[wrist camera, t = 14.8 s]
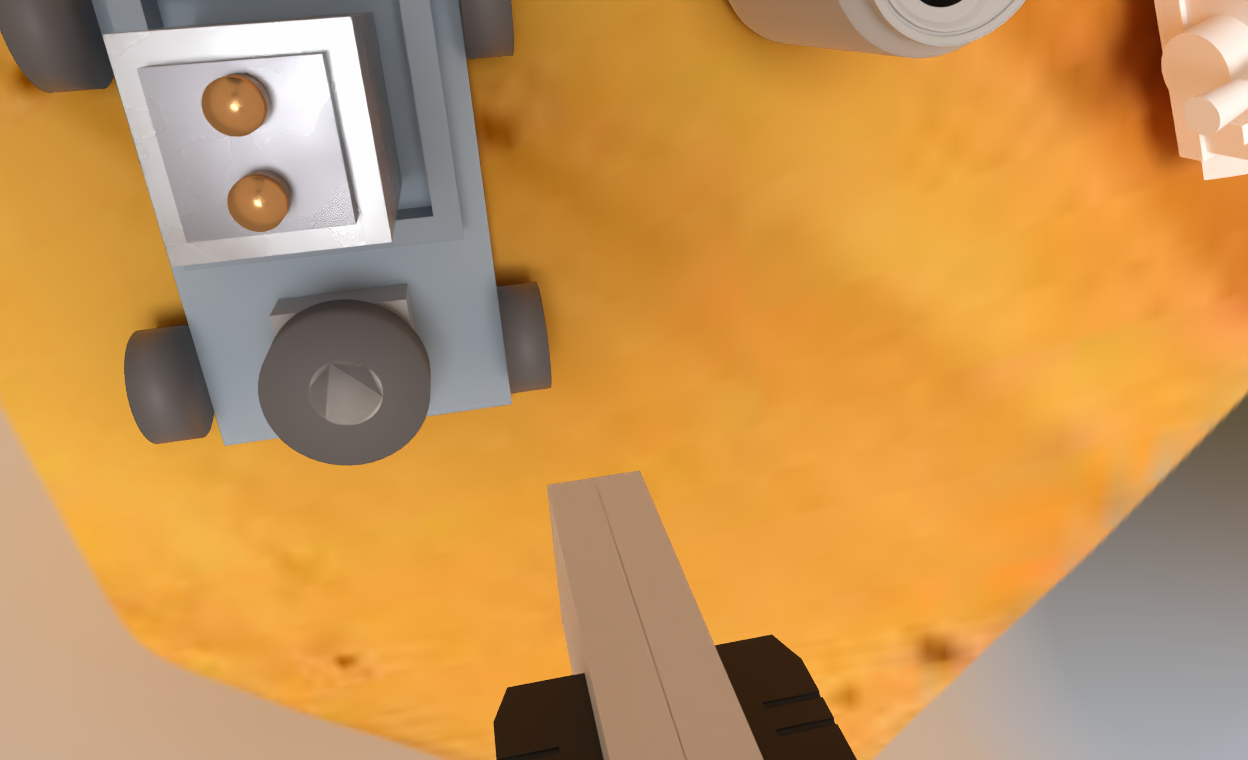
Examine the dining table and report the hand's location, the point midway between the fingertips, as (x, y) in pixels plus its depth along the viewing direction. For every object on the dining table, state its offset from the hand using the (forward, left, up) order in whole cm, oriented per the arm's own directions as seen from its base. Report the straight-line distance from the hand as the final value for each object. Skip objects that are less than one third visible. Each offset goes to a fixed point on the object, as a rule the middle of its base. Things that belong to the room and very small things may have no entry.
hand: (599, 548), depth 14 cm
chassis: (-2, -7, -24) cm, 24 cm away
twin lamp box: (-5, -7, -22) cm, 24 cm away
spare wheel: (+4, -7, -22) cm, 23 cm away
